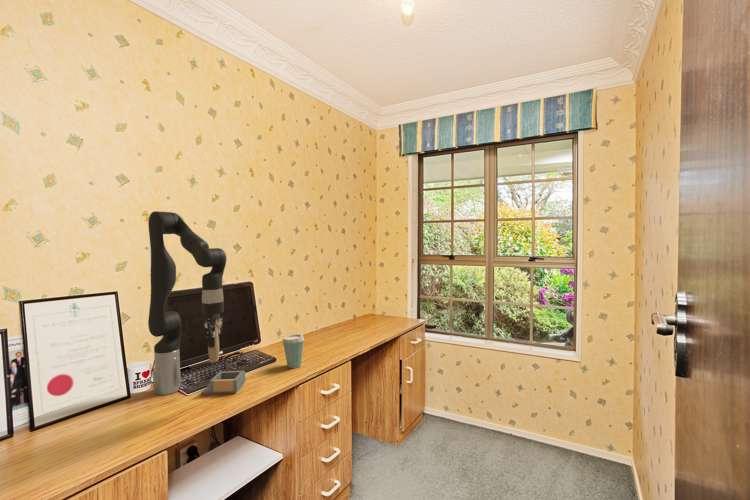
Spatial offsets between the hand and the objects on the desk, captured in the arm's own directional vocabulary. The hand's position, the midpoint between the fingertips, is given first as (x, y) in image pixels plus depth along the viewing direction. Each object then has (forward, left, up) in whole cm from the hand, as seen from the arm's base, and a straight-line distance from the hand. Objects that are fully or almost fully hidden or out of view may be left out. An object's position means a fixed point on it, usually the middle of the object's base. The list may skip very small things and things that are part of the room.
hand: (214, 345), depth 141 cm
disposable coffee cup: (+22, +41, -23) cm, 52 cm away
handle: (0, 0, -6) cm, 6 cm away
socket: (-3, +15, -23) cm, 28 cm away
